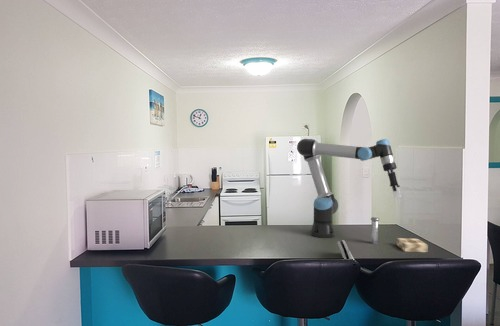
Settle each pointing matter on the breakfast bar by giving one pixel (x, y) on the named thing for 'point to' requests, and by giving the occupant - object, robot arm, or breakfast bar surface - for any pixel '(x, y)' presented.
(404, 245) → the socket block
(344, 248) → the hinge
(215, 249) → the breakfast bar surface
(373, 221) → the pin
